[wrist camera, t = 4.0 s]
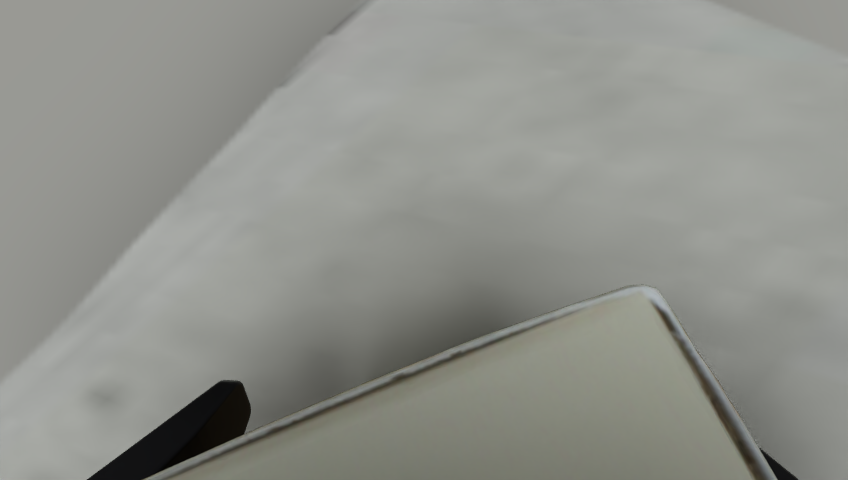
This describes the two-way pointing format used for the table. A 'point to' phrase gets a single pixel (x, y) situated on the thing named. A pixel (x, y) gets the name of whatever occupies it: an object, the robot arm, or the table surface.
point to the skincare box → (518, 411)
